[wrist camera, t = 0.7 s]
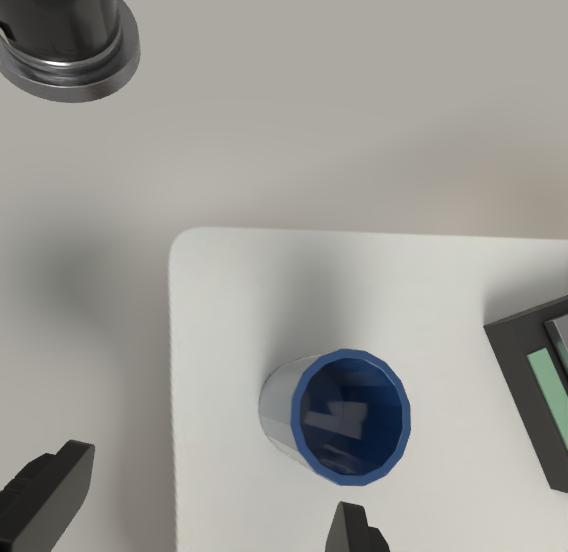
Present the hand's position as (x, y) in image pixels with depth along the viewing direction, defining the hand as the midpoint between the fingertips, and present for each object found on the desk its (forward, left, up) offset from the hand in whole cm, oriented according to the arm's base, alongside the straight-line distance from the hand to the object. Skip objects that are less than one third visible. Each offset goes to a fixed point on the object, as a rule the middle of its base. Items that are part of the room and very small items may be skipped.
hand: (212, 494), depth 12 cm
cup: (+1, +8, -15) cm, 17 cm away
